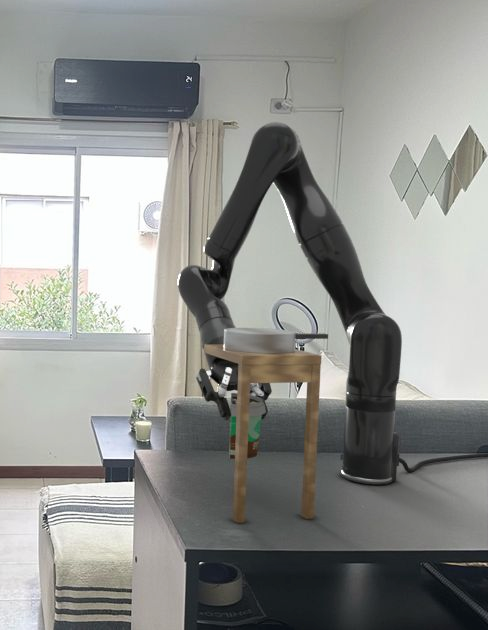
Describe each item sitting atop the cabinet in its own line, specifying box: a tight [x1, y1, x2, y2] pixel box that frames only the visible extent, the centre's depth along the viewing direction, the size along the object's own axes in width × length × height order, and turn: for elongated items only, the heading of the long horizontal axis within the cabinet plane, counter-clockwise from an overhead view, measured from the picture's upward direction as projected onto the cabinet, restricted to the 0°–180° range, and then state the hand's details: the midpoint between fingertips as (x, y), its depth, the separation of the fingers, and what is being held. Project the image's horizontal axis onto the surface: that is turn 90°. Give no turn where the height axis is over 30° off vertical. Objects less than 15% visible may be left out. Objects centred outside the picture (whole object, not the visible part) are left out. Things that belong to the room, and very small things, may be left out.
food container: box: [228, 392, 266, 460], centre depth 136 cm, size 12×6×10 cm, turn 168°
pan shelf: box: [203, 327, 329, 524], centre depth 130 cm, size 20×16×31 cm
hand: (245, 417), depth 137 cm, fingers closed on food container, 6 cm apart
